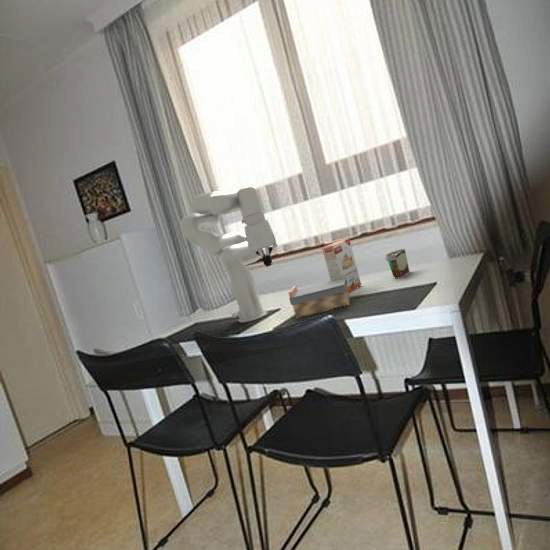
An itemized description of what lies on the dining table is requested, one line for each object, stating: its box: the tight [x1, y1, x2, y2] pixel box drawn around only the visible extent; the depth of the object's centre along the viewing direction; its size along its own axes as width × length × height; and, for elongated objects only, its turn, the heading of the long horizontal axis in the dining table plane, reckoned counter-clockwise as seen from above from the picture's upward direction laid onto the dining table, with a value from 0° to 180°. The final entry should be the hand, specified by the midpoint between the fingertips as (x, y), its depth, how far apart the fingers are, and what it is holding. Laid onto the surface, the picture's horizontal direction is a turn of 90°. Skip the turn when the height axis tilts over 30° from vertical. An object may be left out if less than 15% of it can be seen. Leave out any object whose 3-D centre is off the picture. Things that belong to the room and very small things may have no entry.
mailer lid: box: [288, 277, 347, 306], centre depth 176 cm, size 21×15×5 cm
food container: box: [385, 248, 410, 279], centre depth 193 cm, size 12×6×10 cm, turn 144°
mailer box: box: [292, 282, 351, 319], centre depth 176 cm, size 20×13×7 cm, turn 79°
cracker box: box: [322, 238, 362, 294], centre depth 192 cm, size 14×6×21 cm, turn 143°
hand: (268, 265), depth 178 cm, fingers closed
